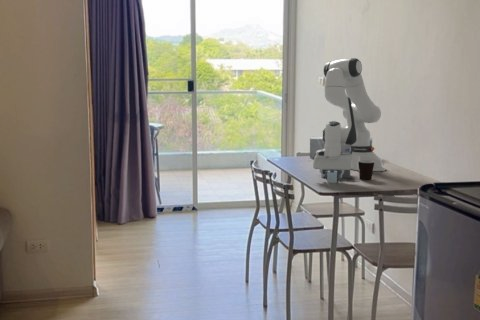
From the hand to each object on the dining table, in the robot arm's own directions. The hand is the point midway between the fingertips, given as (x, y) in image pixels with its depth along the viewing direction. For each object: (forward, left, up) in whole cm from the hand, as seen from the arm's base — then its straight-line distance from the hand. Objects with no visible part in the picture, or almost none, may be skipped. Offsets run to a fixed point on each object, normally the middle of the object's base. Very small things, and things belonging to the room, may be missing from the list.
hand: (331, 177), depth 314 cm
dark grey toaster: (-3, -15, -2) cm, 15 cm away
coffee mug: (-19, -10, -2) cm, 22 cm away
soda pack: (-7, -78, -3) cm, 79 cm away
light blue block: (0, 0, -2) cm, 2 cm away
